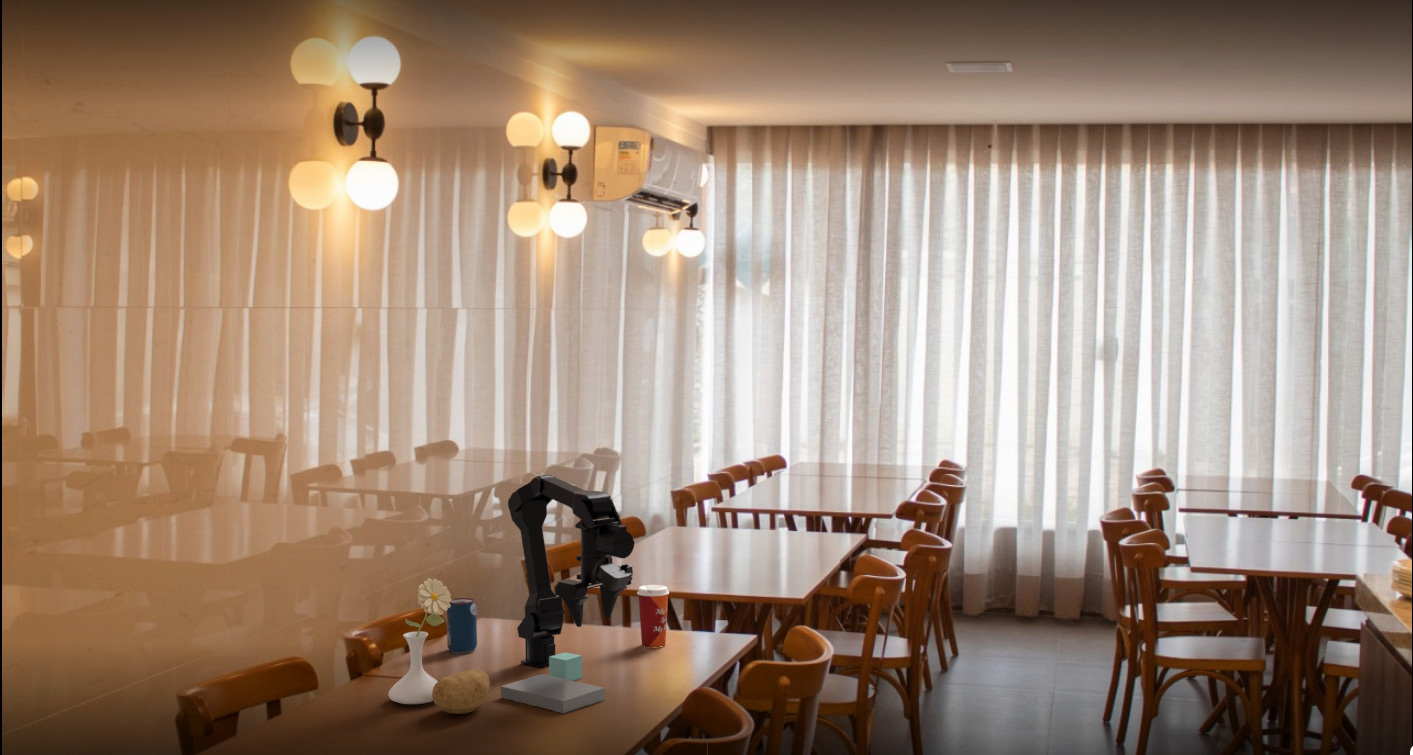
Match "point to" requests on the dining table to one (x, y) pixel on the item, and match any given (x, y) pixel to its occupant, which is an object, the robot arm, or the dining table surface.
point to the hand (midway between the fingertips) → (593, 622)
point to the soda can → (462, 625)
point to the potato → (461, 691)
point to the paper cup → (653, 614)
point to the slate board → (553, 693)
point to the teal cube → (566, 666)
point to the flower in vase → (421, 646)
